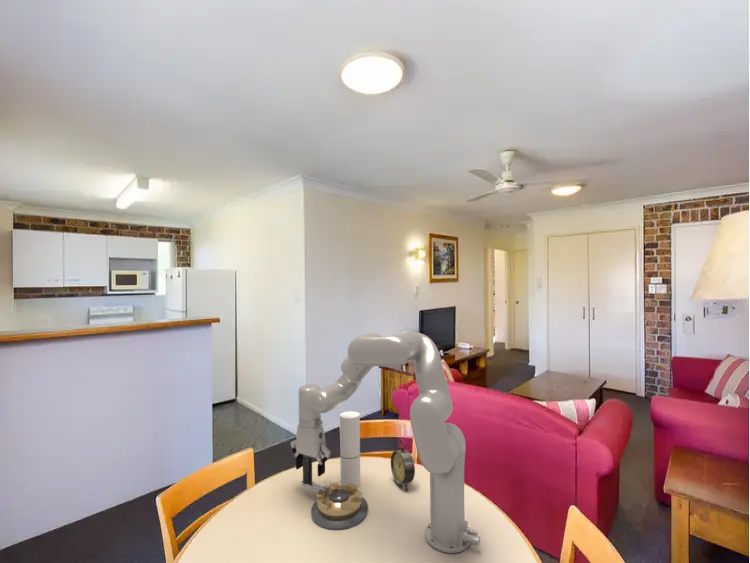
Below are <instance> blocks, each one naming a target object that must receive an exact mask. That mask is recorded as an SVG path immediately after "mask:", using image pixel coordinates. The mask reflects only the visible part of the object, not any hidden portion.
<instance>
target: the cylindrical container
mask: <svg viewBox="0 0 750 563" xmlns="http://www.w3.org/2000/svg"><path fill="white" fill-rule="evenodd" d="M360 414H361V413H360V412H357V411H353V410H351V411H344V412H341V413H340V414H339V439H340V440H339V441H340V442H339V444H340V445H339V447H340V448H339V451H340V453H339V454H340V456H339V457H340V460H339V461H340V463H339V464H340V470H339V471H340V485H345V486H347V485H348V484H350V483H353V484H355V485H357V488H359V487H360V486H361V438H360V437H361V432H360V431H361V428H360V427H361V426H360V425H361V424H360V423H361V422H360V419H361V418H360ZM358 486H359V487H358Z"/></svg>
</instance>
